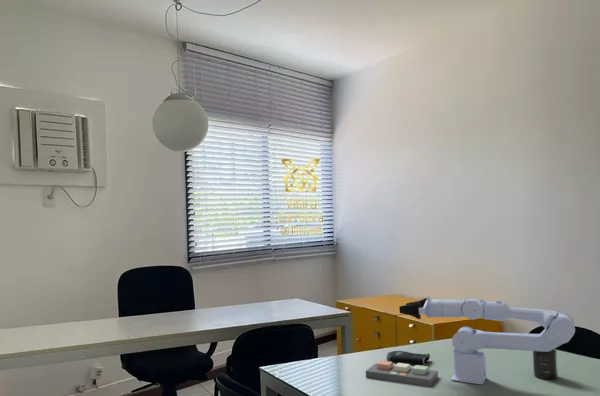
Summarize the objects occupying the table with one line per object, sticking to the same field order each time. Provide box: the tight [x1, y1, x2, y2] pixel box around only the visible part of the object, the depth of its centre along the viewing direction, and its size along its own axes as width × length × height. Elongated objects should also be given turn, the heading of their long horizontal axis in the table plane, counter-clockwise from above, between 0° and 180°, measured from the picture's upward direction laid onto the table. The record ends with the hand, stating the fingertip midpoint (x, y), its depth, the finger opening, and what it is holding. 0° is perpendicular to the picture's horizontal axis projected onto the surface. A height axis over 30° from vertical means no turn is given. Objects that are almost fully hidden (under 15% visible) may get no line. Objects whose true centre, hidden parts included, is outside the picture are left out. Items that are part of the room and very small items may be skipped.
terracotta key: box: [376, 360, 394, 370], centre depth 159 cm, size 4×4×2 cm
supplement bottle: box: [532, 348, 559, 381], centre depth 153 cm, size 7×7×12 cm
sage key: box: [412, 365, 429, 375], centre depth 153 cm, size 4×4×2 cm
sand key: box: [394, 363, 411, 373], centre depth 156 cm, size 4×4×2 cm
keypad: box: [365, 362, 439, 387], centre depth 155 cm, size 21×10×2 cm, turn 60°
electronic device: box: [385, 350, 431, 366], centre depth 173 cm, size 9×6×15 cm
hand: (403, 308), depth 162 cm, fingers open, 7 cm apart
